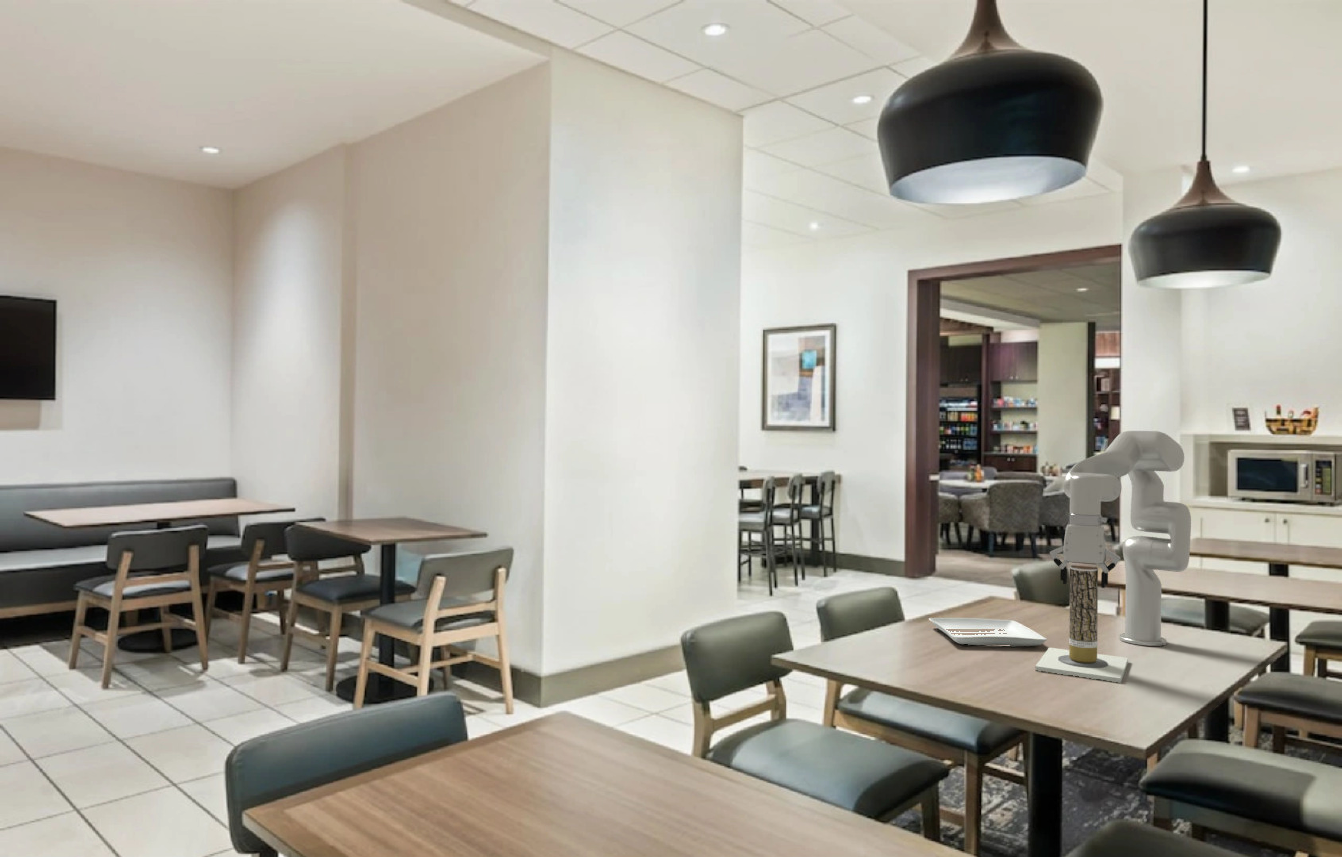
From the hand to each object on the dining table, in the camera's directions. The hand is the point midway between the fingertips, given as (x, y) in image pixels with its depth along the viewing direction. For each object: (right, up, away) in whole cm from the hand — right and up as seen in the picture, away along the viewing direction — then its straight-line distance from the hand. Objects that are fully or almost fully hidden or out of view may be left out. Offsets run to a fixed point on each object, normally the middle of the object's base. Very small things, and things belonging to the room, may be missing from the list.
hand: (1083, 585), depth 236 cm
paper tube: (0, -20, 0) cm, 20 cm away
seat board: (0, -22, 0) cm, 22 cm away
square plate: (-15, -22, +31) cm, 41 cm away
